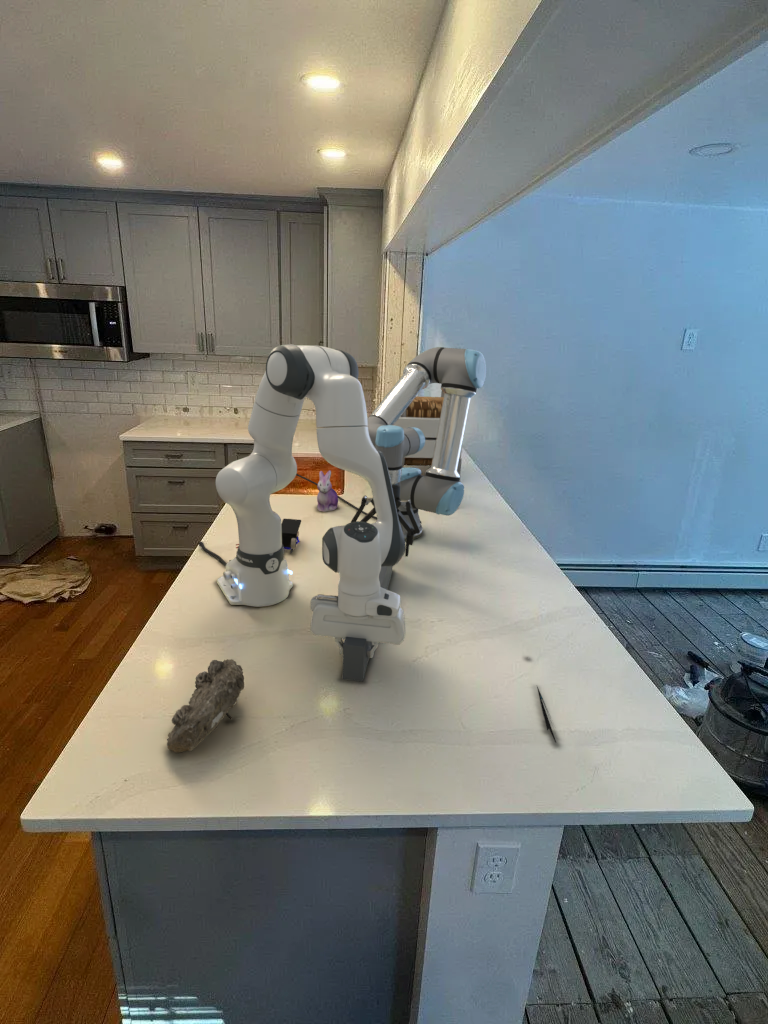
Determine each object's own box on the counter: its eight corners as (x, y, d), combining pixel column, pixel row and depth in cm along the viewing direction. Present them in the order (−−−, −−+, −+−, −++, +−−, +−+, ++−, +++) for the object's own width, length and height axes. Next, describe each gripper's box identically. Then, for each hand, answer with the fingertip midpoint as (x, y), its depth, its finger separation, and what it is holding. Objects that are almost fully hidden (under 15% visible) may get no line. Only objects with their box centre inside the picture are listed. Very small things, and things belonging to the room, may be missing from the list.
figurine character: (297, 560, 179) (302, 537, 192) (296, 539, 175) (302, 517, 189) (275, 559, 178) (282, 536, 192) (274, 538, 175) (281, 516, 189)
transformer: (382, 463, 289) (386, 382, 275) (445, 464, 293) (451, 384, 279) (390, 482, 257) (394, 392, 243) (460, 483, 261) (468, 394, 247)
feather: (528, 662, 131) (533, 656, 131) (556, 747, 105) (562, 740, 104) (522, 659, 131) (527, 652, 130) (548, 742, 104) (555, 735, 104)
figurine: (320, 513, 215) (320, 475, 210) (311, 505, 224) (311, 468, 219) (343, 510, 219) (344, 473, 214) (333, 502, 228) (333, 466, 223)
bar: (377, 569, 172) (379, 543, 169) (392, 571, 172) (393, 544, 169) (342, 679, 121) (343, 644, 118) (362, 681, 120) (364, 646, 117)
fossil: (192, 660, 117) (244, 628, 112) (224, 691, 120) (276, 661, 115) (142, 746, 98) (202, 712, 93) (182, 779, 101) (242, 748, 96)
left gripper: (306, 600, 117) (307, 657, 122) (404, 610, 115) (401, 668, 120) (314, 586, 123) (314, 641, 128) (407, 596, 121) (404, 651, 126)
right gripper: (340, 481, 155) (338, 553, 162) (431, 489, 153) (425, 561, 159) (345, 474, 162) (343, 543, 169) (432, 482, 160) (427, 551, 166)
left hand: (357, 654), depth 124 cm, fingers closed on bar, 4 cm apart
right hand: (383, 552), depth 164 cm, fingers open, 13 cm apart
